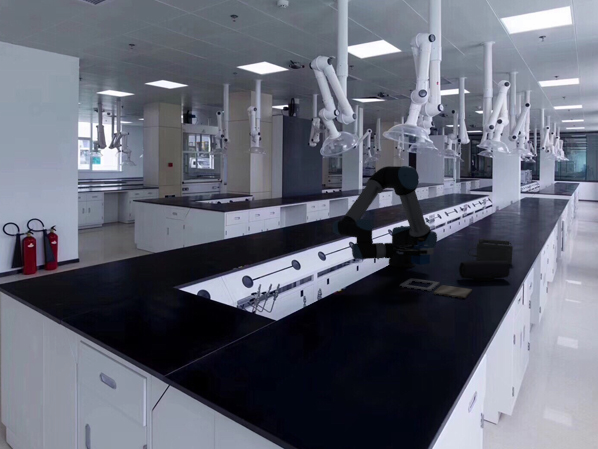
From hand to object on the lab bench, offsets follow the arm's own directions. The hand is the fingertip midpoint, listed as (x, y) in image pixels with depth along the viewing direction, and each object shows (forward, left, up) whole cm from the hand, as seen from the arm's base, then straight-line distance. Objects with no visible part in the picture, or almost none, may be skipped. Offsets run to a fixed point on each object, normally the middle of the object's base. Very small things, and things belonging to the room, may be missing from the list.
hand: (430, 249), depth 214 cm
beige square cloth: (+13, -7, -18) cm, 23 cm away
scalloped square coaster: (-4, -3, -18) cm, 19 cm away
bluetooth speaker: (+20, +25, -18) cm, 37 cm away
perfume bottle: (-4, -3, -7) cm, 8 cm away
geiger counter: (+14, +71, -18) cm, 75 cm away
